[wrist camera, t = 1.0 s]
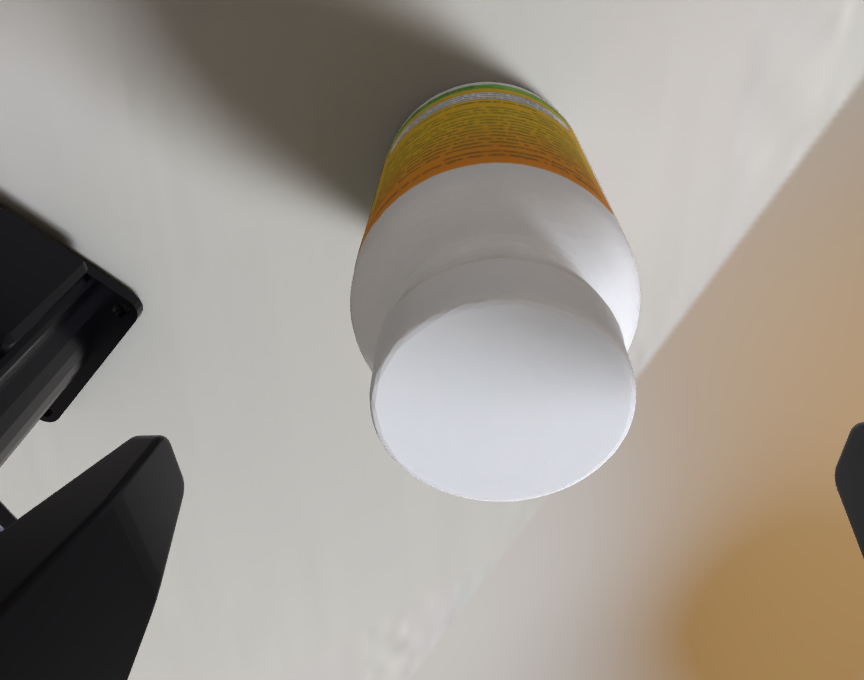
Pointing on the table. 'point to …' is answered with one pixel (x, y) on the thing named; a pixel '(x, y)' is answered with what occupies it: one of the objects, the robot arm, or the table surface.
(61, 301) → the robot arm
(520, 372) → the supplement bottle
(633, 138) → the table surface
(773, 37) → the table surface
